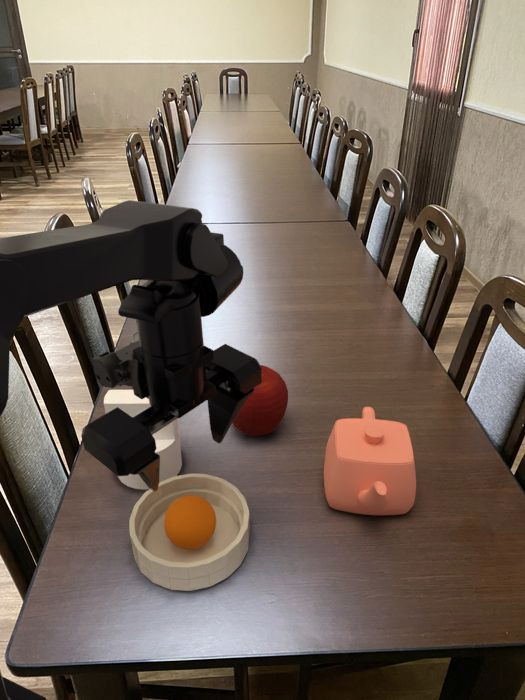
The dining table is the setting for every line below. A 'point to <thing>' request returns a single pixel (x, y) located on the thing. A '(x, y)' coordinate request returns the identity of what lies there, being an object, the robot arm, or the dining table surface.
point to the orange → (190, 522)
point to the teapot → (370, 466)
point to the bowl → (190, 564)
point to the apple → (264, 405)
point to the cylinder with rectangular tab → (164, 438)
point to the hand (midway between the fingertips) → (186, 463)
